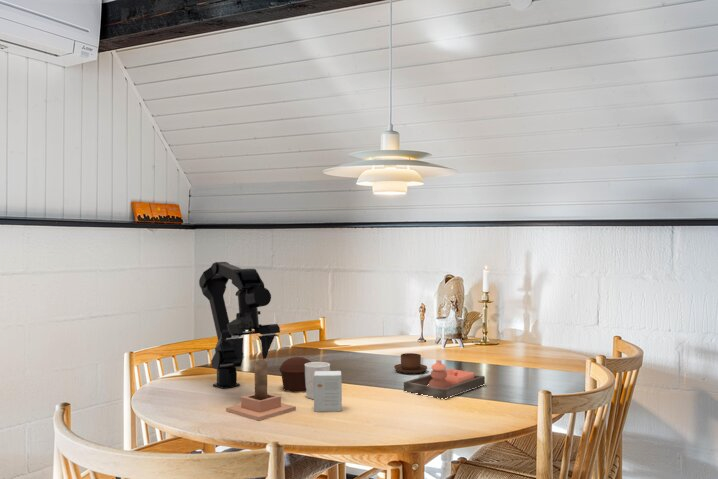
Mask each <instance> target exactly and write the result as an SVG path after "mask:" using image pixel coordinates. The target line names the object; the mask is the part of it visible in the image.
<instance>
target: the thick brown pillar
mask: <svg viewBox="0 0 718 479" xmlns="http://www.w3.org/2000/svg"><path fill="white" fill-rule="evenodd" d="M267 393H268V361H267V360H256V361H254V394H255V399H257V400H263V399H267Z"/></svg>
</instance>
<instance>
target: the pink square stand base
mask: <svg viewBox="0 0 718 479" xmlns="http://www.w3.org/2000/svg"><path fill="white" fill-rule="evenodd" d="M296 410H297V406H295V405H291V404H287V403H283V402H282V396H280V395H278V394H277V395H276V394H272V393H269V392H267V399H263V400H257V399H255V393H253V394H248V395H244V396H241V397H240V403H239V404H235V405H232V406H231V405H230V406H227V407H225V411H226V412H227V413H231V414H234V415H237V416H241V417H244V418H247V419H251V420H255V421H262V420H267V419H269V418H274V417H276V416H280V415H283V414H286V413H291V412H293V411H296Z"/></svg>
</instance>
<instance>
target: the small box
mask: <svg viewBox="0 0 718 479" xmlns="http://www.w3.org/2000/svg"><path fill="white" fill-rule="evenodd" d="M342 384H343V383H342V371H341V370H330V371H315V372H314V399H313V411H314V412H342V407H343V406H342V405H343V403H342V402H343V398H342V392H343V390H342V389H343V388H342V387H343V385H342Z"/></svg>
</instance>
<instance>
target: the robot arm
mask: <svg viewBox="0 0 718 479" xmlns="http://www.w3.org/2000/svg"><path fill="white" fill-rule="evenodd" d="M261 278H262V277H261V276H260V274H259V272H258V270H256V268H241V267H239V266H236V265H233V264H230V263H229V262H227V261H215V262H212V264H211V266H210V267H209V268H208V269H206V270H204V271H202V274H201V276H200V278H199V280H198V283H199V288H200V289H201V292H202V295H203V296H204V297H205V298H206V299H207V300H208V301H209V305H210V310H211V314H212V319H213V323H214V328H215V331H216V336H217V342H216V346H215V347H214V355H213V357H211V358H212V359H211V360H210V362H211V363H210V364H211V368H212V369H215V370H216V383H212V386H214V387H217V388H221V389H228V388H229V389H230V388H234V387H237V386H238V387H239V386H241V383H239V382H238V380H237V379H238V378H237V374H238V373H237V368H239V367H240V368H241V367H242V363H243V360H244V358H243V357H244V350H243V349H244V337H242V336H246V335H247V336H248V335H255V334H259V336H257V337H258V338H259V340H260V342H261V353H262V354H261V355H262V359H263V360H265V359H267V356H268V353H269V352H270V348H271V347H272V346H271V345H272V343H273V341H274V339H275V337H276V336H278V333H279V334H280V333H281V328H280V326H279V324H278V323H271V324H260V322H259V315H261V311H260V310H258V308H261V307H265V306H268V305H269V304H270V302H271V300H272V294H271V292H270V290H269V289H268V288H266V287H265V283H264V282H263V280H262V279H261ZM229 280H231V284H232V285H234V287H236V288H237V291H236V293H235V296H237V302H238V303H237V304H238V312H237V313H236V315H235V316H236V318H235V319H232V320H231V321H230V319H229V315H228V312H227V311H228V310H227V307H226V303H225V297H224V295H225V292H226V289H227V284H228V282H229Z"/></svg>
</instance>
